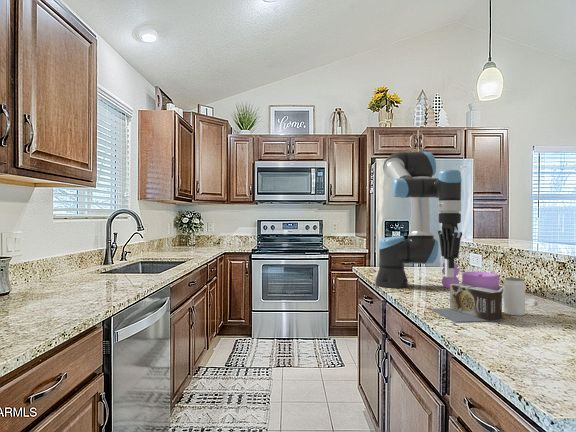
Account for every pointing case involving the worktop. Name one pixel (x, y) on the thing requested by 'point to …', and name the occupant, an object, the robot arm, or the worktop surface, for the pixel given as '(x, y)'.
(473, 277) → the container set
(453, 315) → the mat
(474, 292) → the coffee box
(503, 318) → the turner
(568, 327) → the worktop surface
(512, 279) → the can
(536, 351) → the worktop surface
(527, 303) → the cloth
